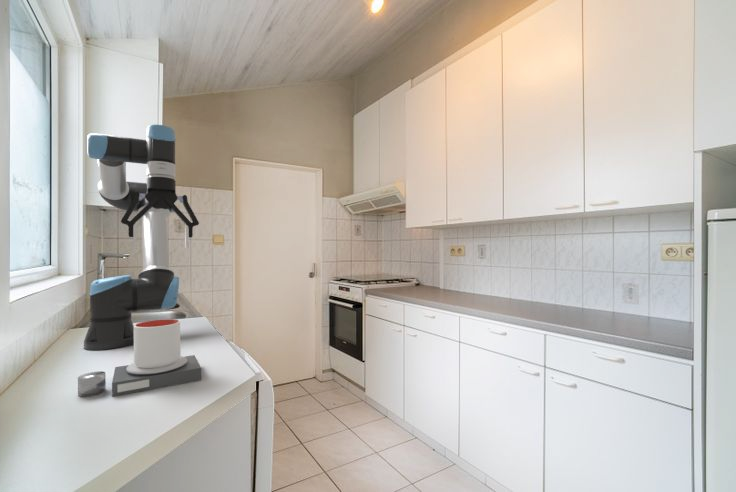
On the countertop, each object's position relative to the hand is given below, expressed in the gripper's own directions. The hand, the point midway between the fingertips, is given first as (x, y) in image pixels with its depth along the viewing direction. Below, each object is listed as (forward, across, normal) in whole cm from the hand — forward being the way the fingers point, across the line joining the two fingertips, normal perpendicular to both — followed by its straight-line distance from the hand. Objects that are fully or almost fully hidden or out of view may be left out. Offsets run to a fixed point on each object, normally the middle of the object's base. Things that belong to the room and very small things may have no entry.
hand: (161, 248), depth 109 cm
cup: (+29, -2, -21) cm, 36 cm away
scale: (+33, -2, -21) cm, 39 cm away
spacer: (+33, -15, -22) cm, 42 cm away
